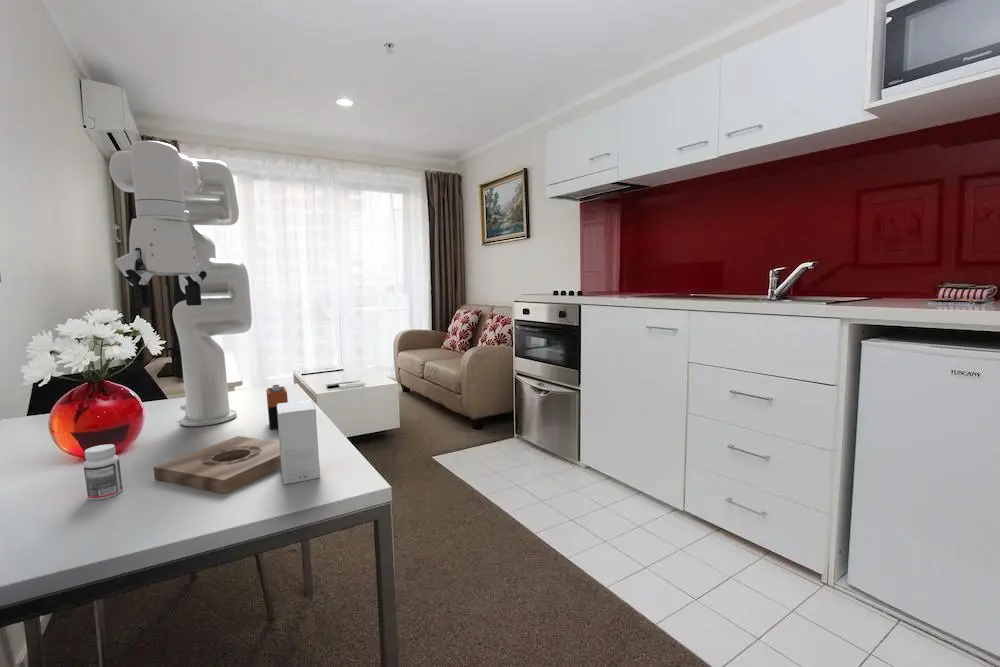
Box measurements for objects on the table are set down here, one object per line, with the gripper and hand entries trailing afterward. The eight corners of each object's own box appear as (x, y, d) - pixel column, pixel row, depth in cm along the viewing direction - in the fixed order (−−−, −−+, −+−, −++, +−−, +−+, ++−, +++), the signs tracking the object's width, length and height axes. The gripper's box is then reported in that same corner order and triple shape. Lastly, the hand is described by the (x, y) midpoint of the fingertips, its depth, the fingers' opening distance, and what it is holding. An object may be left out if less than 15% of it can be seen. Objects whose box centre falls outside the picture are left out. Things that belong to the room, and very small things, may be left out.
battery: (270, 430, 118) (267, 390, 117) (269, 423, 124) (265, 384, 123) (290, 427, 120) (286, 387, 119) (287, 420, 126) (284, 382, 125)
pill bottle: (101, 489, 87) (95, 443, 86) (129, 487, 87) (123, 442, 86) (80, 501, 82) (74, 453, 81) (110, 500, 82) (104, 452, 81)
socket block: (154, 479, 90) (153, 466, 90) (239, 447, 107) (238, 436, 106) (225, 494, 83) (223, 480, 83) (303, 456, 100) (302, 445, 100)
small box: (320, 478, 89) (316, 408, 87) (282, 485, 86) (277, 413, 85) (316, 463, 96) (311, 398, 95) (281, 469, 94) (275, 403, 92)
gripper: (189, 220, 99) (196, 305, 101) (95, 208, 83) (107, 309, 84) (217, 217, 97) (225, 304, 98) (127, 204, 80) (138, 308, 82)
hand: (170, 306), depth 91 cm, fingers open, 9 cm apart
